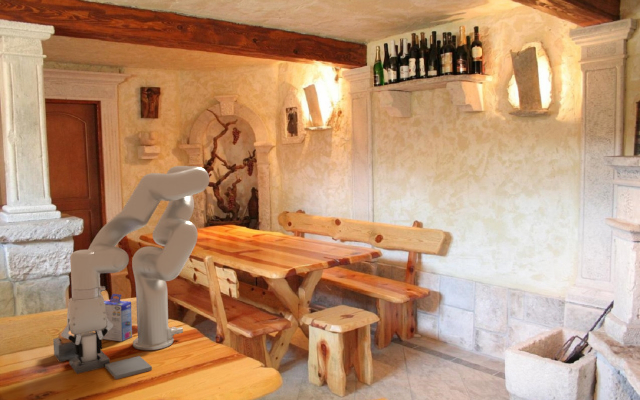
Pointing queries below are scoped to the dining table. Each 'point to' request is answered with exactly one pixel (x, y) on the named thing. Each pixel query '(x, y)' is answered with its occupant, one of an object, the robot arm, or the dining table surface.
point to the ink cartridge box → (118, 319)
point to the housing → (63, 349)
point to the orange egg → (64, 340)
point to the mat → (128, 367)
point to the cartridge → (88, 347)
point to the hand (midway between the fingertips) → (88, 353)
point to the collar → (88, 363)
